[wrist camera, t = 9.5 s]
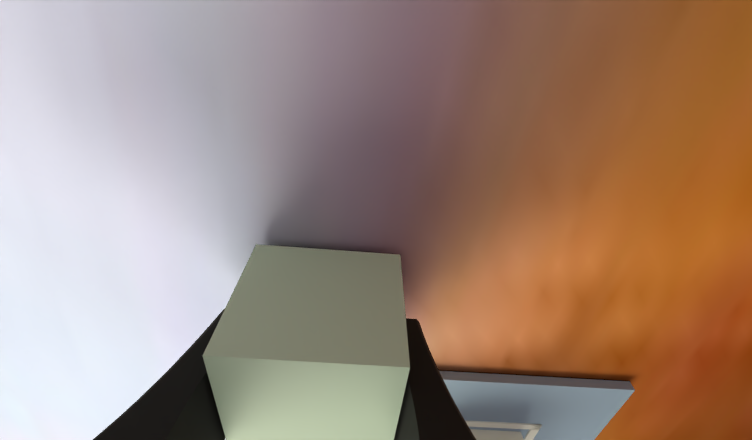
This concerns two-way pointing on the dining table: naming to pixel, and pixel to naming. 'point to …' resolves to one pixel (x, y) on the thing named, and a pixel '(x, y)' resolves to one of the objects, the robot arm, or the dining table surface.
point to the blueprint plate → (537, 403)
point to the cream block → (496, 435)
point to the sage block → (311, 347)
